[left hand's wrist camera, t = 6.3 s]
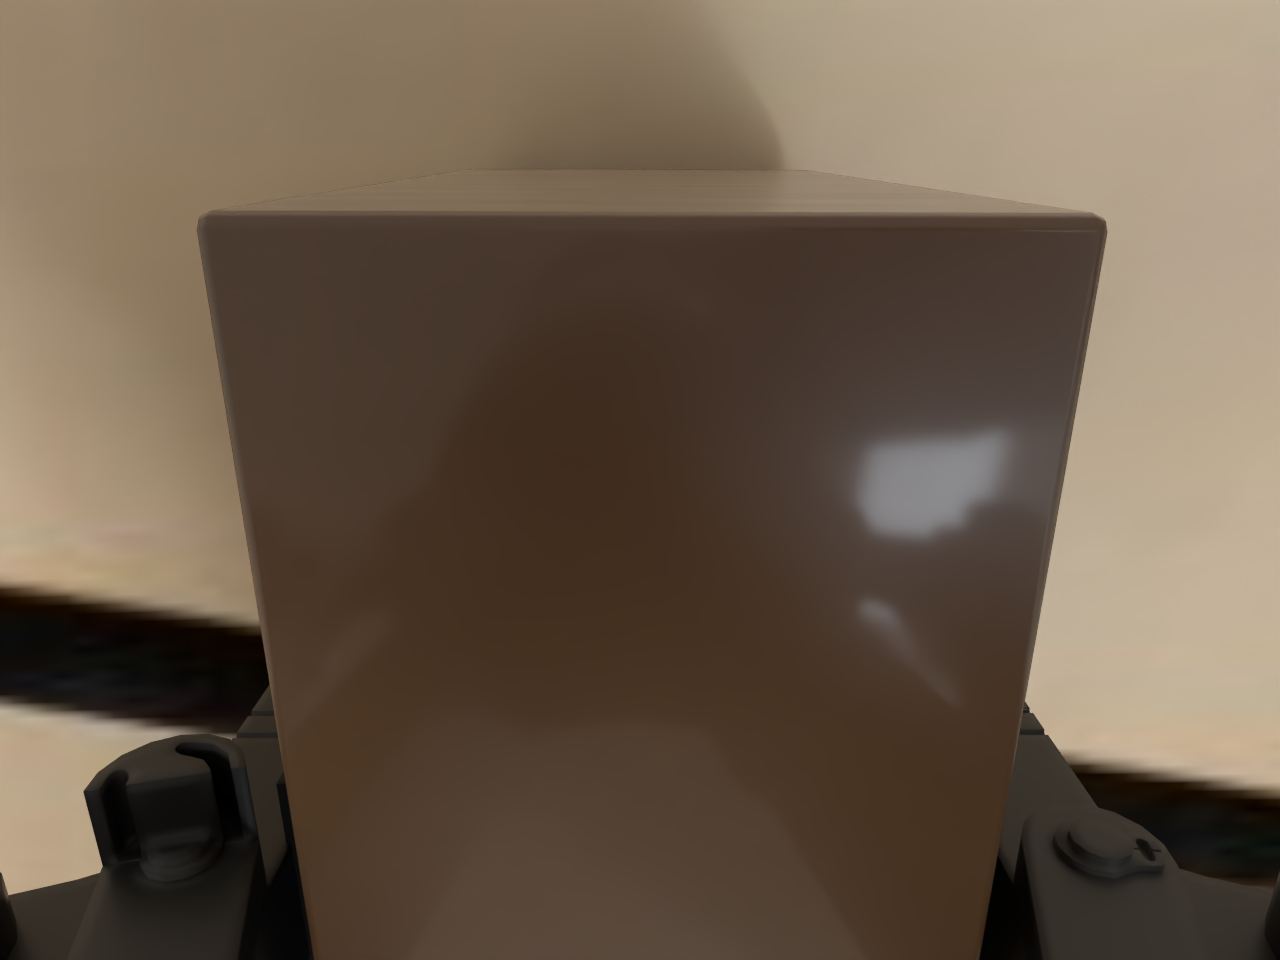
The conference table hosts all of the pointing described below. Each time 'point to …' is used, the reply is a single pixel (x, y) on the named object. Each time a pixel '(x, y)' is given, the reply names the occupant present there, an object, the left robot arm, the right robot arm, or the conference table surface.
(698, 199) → the post
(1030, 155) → the conference table surface
